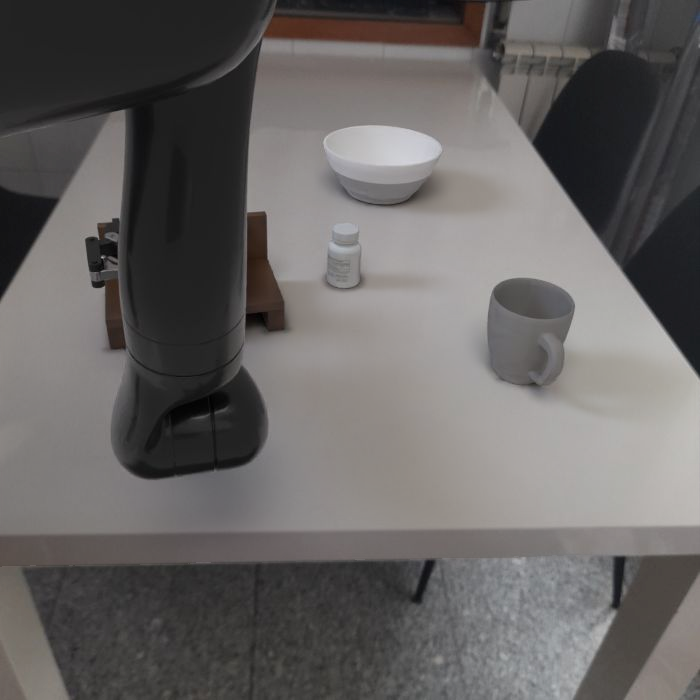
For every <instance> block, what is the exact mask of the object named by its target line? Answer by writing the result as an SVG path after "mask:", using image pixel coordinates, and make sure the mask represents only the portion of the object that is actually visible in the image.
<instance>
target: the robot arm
mask: <svg viewBox="0 0 700 700" xmlns="http://www.w3.org/2000/svg"><path fill="white" fill-rule="evenodd" d="M277 3H278V0H0V140H2V139H4V138H9V137H13V136H17V135H20V134H24V133H29V132H32V131H36V130H37V131H38V130H41V129H45V128H49V127H54V126H58V125H62V124H66V123H71V122H76V121H80V120H84V119H88V118H93V117H96V116H102V115H106V114H111V113H116V112H119V111H124V158H123V174H122V175H123V177H122V190H121V200H120V201H121V202H120V213H119V217H113V218H111V222H112V223H107V224H106V225H105V227H106V234H105V237H104V238H103V239H99V237H97V236H88V237H86V238H84V243H85V251H86V260H87V267H88V272H89V277H90V283H91V287H92V288H93V289H103V288H105V280H109V279H115V278H118V282H119V295H120V305H121V312H122V319H123V327H124V334H125V341H126V348H125V349H126V352H125V353H126V361H125V367H124V372H123V375H122V379H121V381H120V384H119V386H118V389H117V393H116V396H115V398H114V399H115V400H114V404H113V407H112V412H111V417H110V418H111V419H110V443H111V444H110V445H111V449H112V452H113V455H114V457H115V459H116V461H117V463H118V464H119V465H120V466H121V467H122V469H123V470H125V472H127V473H129V475H131V476H133V477H135V478H137V479H140V480H145V481H161V480H162V481H163V480H168V479H169V480H170V479H176V478H182V477H190V476H195V475H197V476H198V475H202V474H203V475H204V474H211V473H214V472H217V473H218V472H226V471H232V470H238V469H240V468H243V467H247V466H248V465H250V464H252V463H253V462H254V461H255V460H256V459H257V458H258V457H259V456H260V454H261V453H262V452H263V450H264V448H265V445H266V443H267V441H268V437H269V429H270V423H269V419H270V418H269V412H268V408H267V405H266V404H267V403H266V401H265V399H264V396H263V394H262V391H261V389H260V388H259V386H258V384H257V383H256V381H255V379H254V378H253V376H252V375H251V374H250V372H249V370H248V369H247V368H246V367H245V365H244V364H243V360H244V355H245V343H246V342H245V341H246V318H247V317H246V316H247V315H246V285H247V212H248V179H249V177H248V176H249V158H250V157H249V155H250V139H251V128H252V117H253V109H254V98H255V90H256V82H257V76H258V75H257V74H258V67H259V60H260V55H261V51H262V44H263V41H264V35H265V32H266V30H267V28H268V26H269V24H270V22H271V20H272V18H273V16H274V13H275V10H276V7H277ZM106 257H108V258H109V259H110V260H112V261H114V262H116V263H118V265H114V264H112V263H111V262H110V261H107V260H106Z"/></svg>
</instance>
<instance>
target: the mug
mask: <svg viewBox="0 0 700 700" xmlns="http://www.w3.org/2000/svg"><path fill="white" fill-rule="evenodd" d="M575 310H576V302H575V300H574V298H573V297H572V295H571V294H570V293H569V292H568V291H567V290H565V289H564V288H562V287H561V286H559V285H556V284H555V283H553V282H549V281H546V280H543V279H539V278H532V277H514V278H509V279H504V280H501V281H500V282H499V283H497V284H496V285H495V286H494V287H493V289H492V291H491V294H490V297H489V303H488V310H487V321H486V337H487V345H488V351H489V354H490V358H491V361H492V367H493V371H494V373H495V375H496V376H498V377H499V378H500V379H502V380H503V381H505V382H508V383H510V384H514V385H523V386H525V385H531V384H534V383H535V384H536V385H539V386H550V385H552V384H553V383H554V382H556V380H557V379H558V378H559V376H560V375H561V373H562V371H563V369H564V365H565V355H566V354H565V353H566V352H565V351H566V350H565V346H564V344H565V341H566V339H567V336H568V334H569V331H570V328H571V325H572V322H573V319H574V317H575Z"/></svg>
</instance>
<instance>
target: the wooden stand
mask: <svg viewBox="0 0 700 700" xmlns="http://www.w3.org/2000/svg"><path fill="white" fill-rule="evenodd" d="M107 223H112V221H108V222H107V221H106V222H97V223H96V229H97V235H98V240H99V239H103V238H104V237H105V234H106V227H105V225H106V224H107ZM268 251H269V250H268V216H267V213H266V211H265V210H264V211H249V212H248V211H247V285H246V314H247V315H248V314H257V313H261V314H262V317H263V320H264V324H265V326H266V329H267V331H268V332H276V331H284V330H286V329H285V327H286V326H285V325H286V324H285V299H284V296H283V294H282V292H281V290H280V287H279V284H278V282H277V279H276V276H275V274H274V271H273V268H272V266H271V264H270V260H269V258H268V256H269V255H268V253H269V252H268ZM106 260H107V261H110V262H111V263H112V264H114V265H118V263H116V262H114V261H112V260H110V259H109V258H108V257H106ZM104 307H105V308H104V318H105V319H104V320H105V327H106V330H107V339H108V343H109V350H117V349H126V341H125V334H124V327H123V319H122V312H121V305H120V295H119V282H118V278H115V279H109V280H105V286H104Z"/></svg>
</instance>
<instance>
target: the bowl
mask: <svg viewBox="0 0 700 700" xmlns="http://www.w3.org/2000/svg"><path fill="white" fill-rule="evenodd" d="M322 146H323V148H324V151H325V154H326V157H327V160H328V164H329V165H330V168H331V169H332V171H333V173H334V175H335V177H337V179H338V181H339V183H340V184H341V186H342V187H343V188H344V189H345V190H346V192H347V194H348V195H349V196H350V197H352V198H353V199H355V200H357V201H359V202H364V203H368V204H373V205H394V204H399V203H403V202H405V201H407V200H409V199H410V198H411V197H412V196H413V194H414V193H416V192H417V191H419V190H420V188H421V187H422V185H423V184H424V183H425V182H426V181H427V180H428V179H429V177H430V176H431V175H432V173H433V172H434V170H435V168H436V167H437V164H438V162H439V160H440V158H441V157H442V154H443V147H442V144H441V143H440V142H439V141H438V140H437V139H435V138H434V137H432V136H430V135H428V134H427V133H423V132H420V131H417V130H414V129H409V128H406V127H405V128H404V127H399V126H391V125H380V124H379V125H378V124H377V125H375V124H373V125H372V124H371V125H369V124H368V125H365V124H364V125H355V126H348V127H343V128H340V129H337V130H333V131H332V132H330V133H329V134H327V135H326V136H325V137H324V139H323V143H322Z"/></svg>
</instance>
